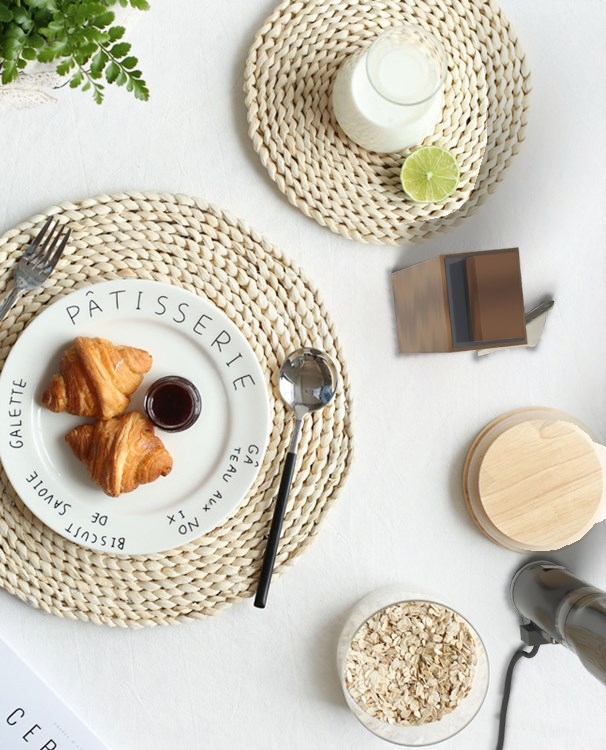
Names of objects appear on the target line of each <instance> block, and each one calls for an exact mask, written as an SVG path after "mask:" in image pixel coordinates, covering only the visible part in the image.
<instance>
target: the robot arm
mask: <svg viewBox="0 0 606 750" xmlns="http://www.w3.org/2000/svg"><path fill="white" fill-rule="evenodd" d="M566 569H567V567H565V566H563V565H558V564H556V563H554V562H551V561H548V560H540V559H539V560H533V561H530V562H528V563H526V564H525V565H523V566H522V567H520V568H519V569H518V571H517V572H515V574H514V576H513V578H512V579H511V584H510V588H509V596H510V601H511V604H512V606H513V608H514V609H515V611H516V612H517V613H518V615H520V616H521V618H522V623H523V624H519V634H520V640H521V641H522V642H523V643H524V644H525V645H527V646H528V647H532V649H531V650H530V651H529V652H528V651H526V650H523V649H522V650H518V651H517V652H516V653H515V654H513V656H512V658H511V660H510V661H509V664H508V667H507V670H506V675H505V679H504V680H505V681H504V689H503V697H502V703H501V707H500V714H499V725H498V726H499V727H498V739H497V746H496V750H503V749H504V742H505V733H506V719H507V712H508V706H509V701H510V694H511V685H512V678H513V672H514V669H515V666H516V664H517V662H518V661H519V660H520V659H521V658H522V657H524V658H525V659H532V658H535V657H536V655H538V652H539V650H540V647H541V646H544V645H561V646H562V647H564V648H566V649H567V650H568V651H570V652H571V653H573V655H575V656H577V658H578V660H579V661H580V663H581V665H582V666H583V668H584V669H585V670H586V671H587V673H589V674H590V675H591V676H592V677H594V678H595V680H597V681H598V682H599V683H600V684H601V685H603V687H605V688H606V591H605V590H603V589H601V588H599V587H597V586H596V585H594V584H592V583H590V582H588V581H586V580H585V579H582V578H580V577H579V576H577V575H576V574H573V573H571V572H569V571H568V570H566Z"/></svg>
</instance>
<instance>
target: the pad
mask: <svg viewBox="0 0 606 750" xmlns="http://www.w3.org/2000/svg"><path fill="white" fill-rule="evenodd" d="M514 252H516V251H514ZM504 253H508V252H504ZM493 254H498V253H493ZM483 255H487V254H483ZM516 255H517V252H516ZM473 256H477V255H473ZM473 256H463V257H453V258H444V264H445V274H446V285H447V295H448V305H449V316H450V326H451V336H452V347H453V348H461V347H471V346H480V345H490V344H499V343H509V342H518V341H525V337H519V338H509V339H500V340H491V341H479V342H469V333H468V323H467V312H466V302H465V292H464V281H463V271H462V260H464V259H467V258H470V257H473ZM517 266H518V263H517ZM518 276H519V273H518ZM519 287H520V284H519ZM520 297H521V294H520ZM521 308H522V305H521ZM522 318H523V316H522ZM523 329H524V326H523Z"/></svg>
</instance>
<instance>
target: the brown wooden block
mask: <svg viewBox="0 0 606 750" xmlns="http://www.w3.org/2000/svg"><path fill="white" fill-rule="evenodd" d="M462 271H463V281H464V292H465V302H466V312H467V323H468V333H469V342H479V341H491V340H500V339H509V338H519V337H524V329H523V318H522V308H521V297H520V287H519V276H518V266H517V255H516V252H508V253H498V254H487V255H477V256H473V257H470V258H467V259H464V260H462Z"/></svg>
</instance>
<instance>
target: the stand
mask: <svg viewBox="0 0 606 750" xmlns="http://www.w3.org/2000/svg"><path fill="white" fill-rule="evenodd" d="M514 251H516V252H517V263H518V273H519V284H520V294H521V305H522V316H523V326H524V337H525V341H518V342H509V343H499V344H490V345H480V346H471V347H461V348H453V347H452V336H451V326H450V316H449V305H448V295H447V285H446V274H445V264H444V258H453V257H463V256H473V255H483V254H493V253H504V252H514ZM390 275H391V286H392V293H393V294H392V295H393V296H392V297H393V305H394V306H393V307H394V316H395V324H396V325H395V327H396V336H397V346H398V354H399V355H410V354H411V355H413V354H415V355H416V354H452V353H460V352H461V353H462V352H469V351H476V350H480V349H490V348H499V347H509V346H518V345H527V344H528V342H527V331H526V321H525V315H526V312H525V311H526V310H525V302H524V289H523V278H522V269H521V259H520V248H519V247H518V246H516V247H505V248H497V249H486V250H475V251H467V252H454V253H445V254H438V255H436V256H433V257H431V258H428V259H425V260H422V261H420V262H418V263H415V264H412V265H410V266H408V267H407V266H406V267H404V268H401V269H399V270H397V271H393V272H391V273H390Z"/></svg>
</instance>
